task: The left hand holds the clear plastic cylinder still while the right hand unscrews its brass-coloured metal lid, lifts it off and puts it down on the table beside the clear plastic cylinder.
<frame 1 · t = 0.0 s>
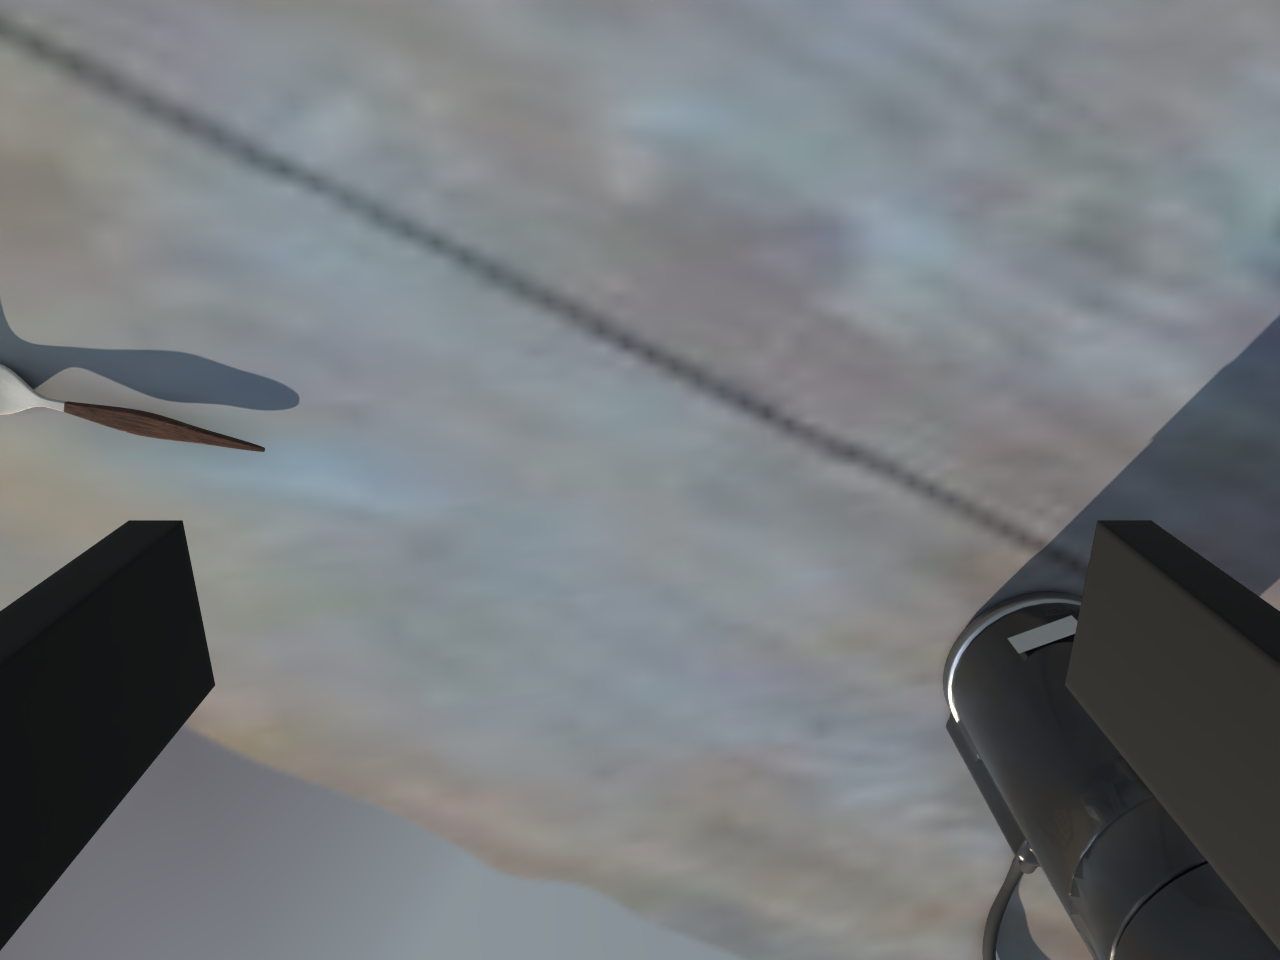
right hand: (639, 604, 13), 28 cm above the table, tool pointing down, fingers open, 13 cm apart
fork: (99, 408, 41), on the table
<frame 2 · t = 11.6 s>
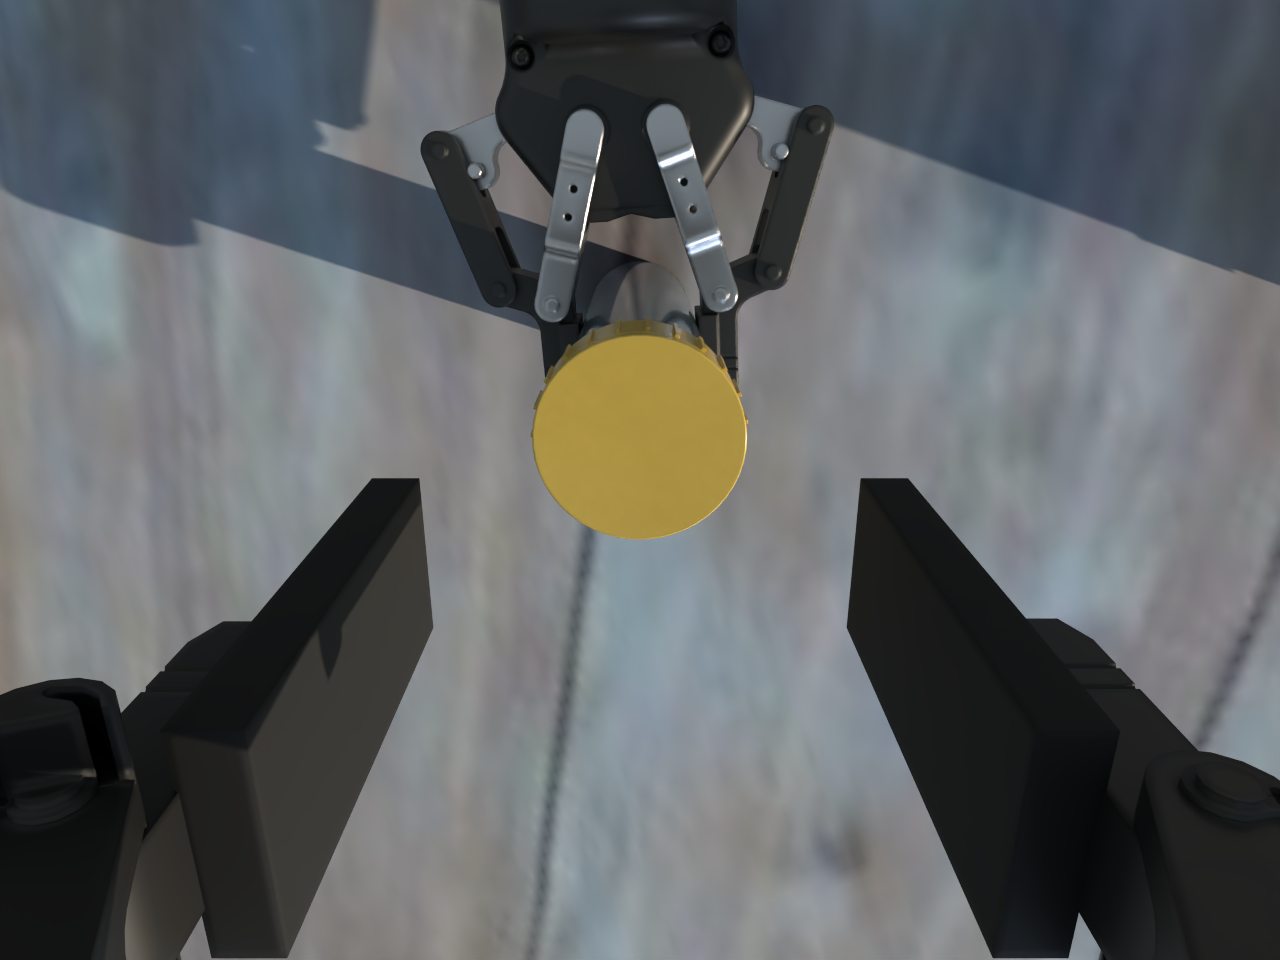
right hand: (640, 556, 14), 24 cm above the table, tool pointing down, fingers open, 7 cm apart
left hand: (643, 411, 32), fingers closed on clear plastic cylinder, 4 cm apart
lid: (639, 437, 20), point 18 cm above the table, screwed on, not yet turned
clear plastic cylinder: (639, 311, 37), on the table, touching left hand
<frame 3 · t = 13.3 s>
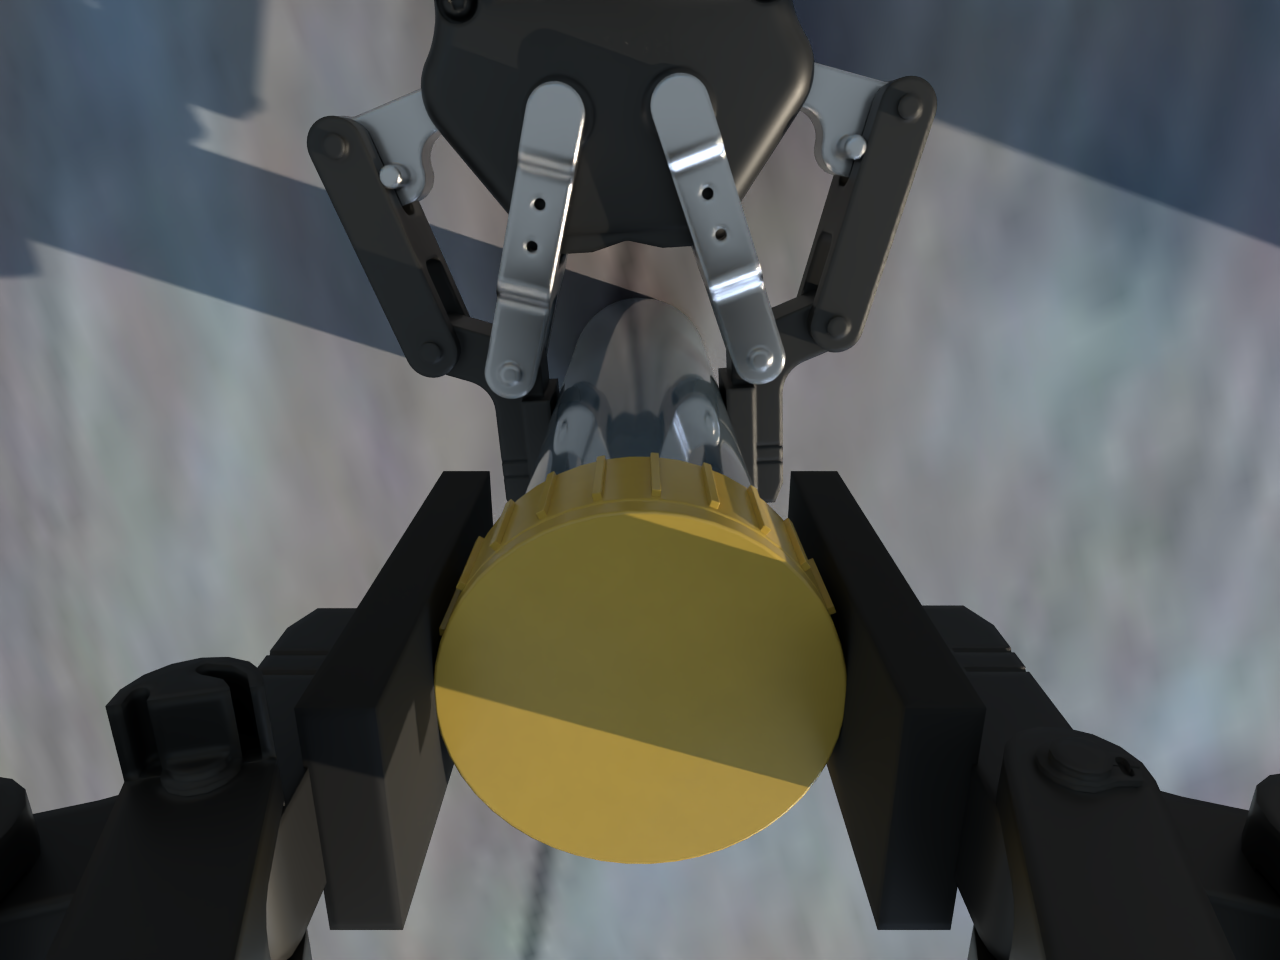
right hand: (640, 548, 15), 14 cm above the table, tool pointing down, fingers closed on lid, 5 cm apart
left hand: (645, 517, 23), fingers closed on clear plastic cylinder, 4 cm apart
lid: (640, 686, 11), point 18 cm above the table, screwed on, not yet turned, touching right hand
clear plastic cylinder: (639, 364, 28), on the table, touching left hand
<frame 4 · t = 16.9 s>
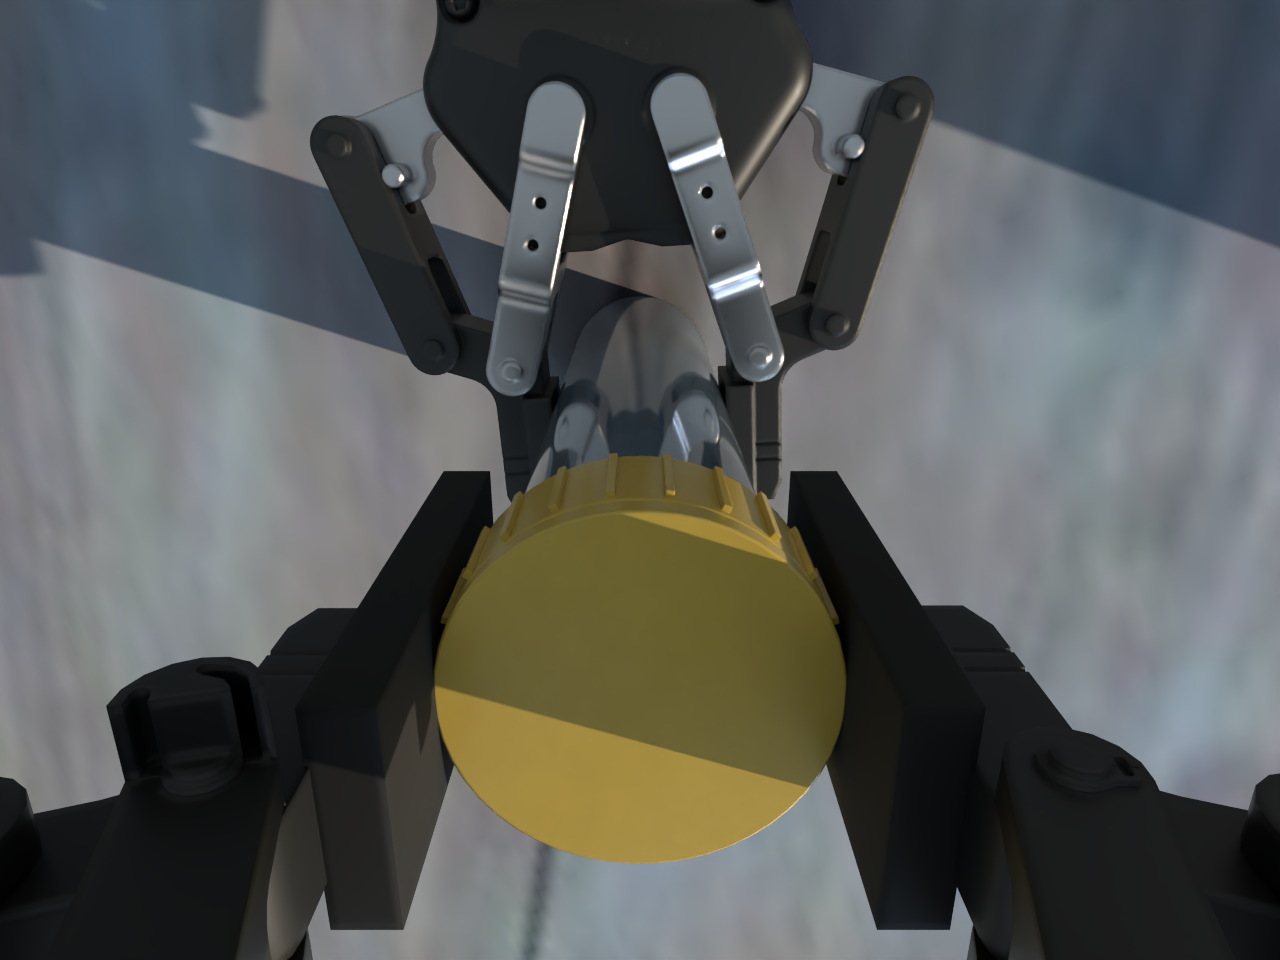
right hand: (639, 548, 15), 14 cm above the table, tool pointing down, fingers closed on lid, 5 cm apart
left hand: (645, 514, 23), fingers closed on clear plastic cylinder, 4 cm apart
lid: (640, 685, 11), point 18 cm above the table, turned 122° so far, risen 0.2 cm, still on its thread, touching right hand
clear plastic cylinder: (640, 362, 28), on the table, touching left hand
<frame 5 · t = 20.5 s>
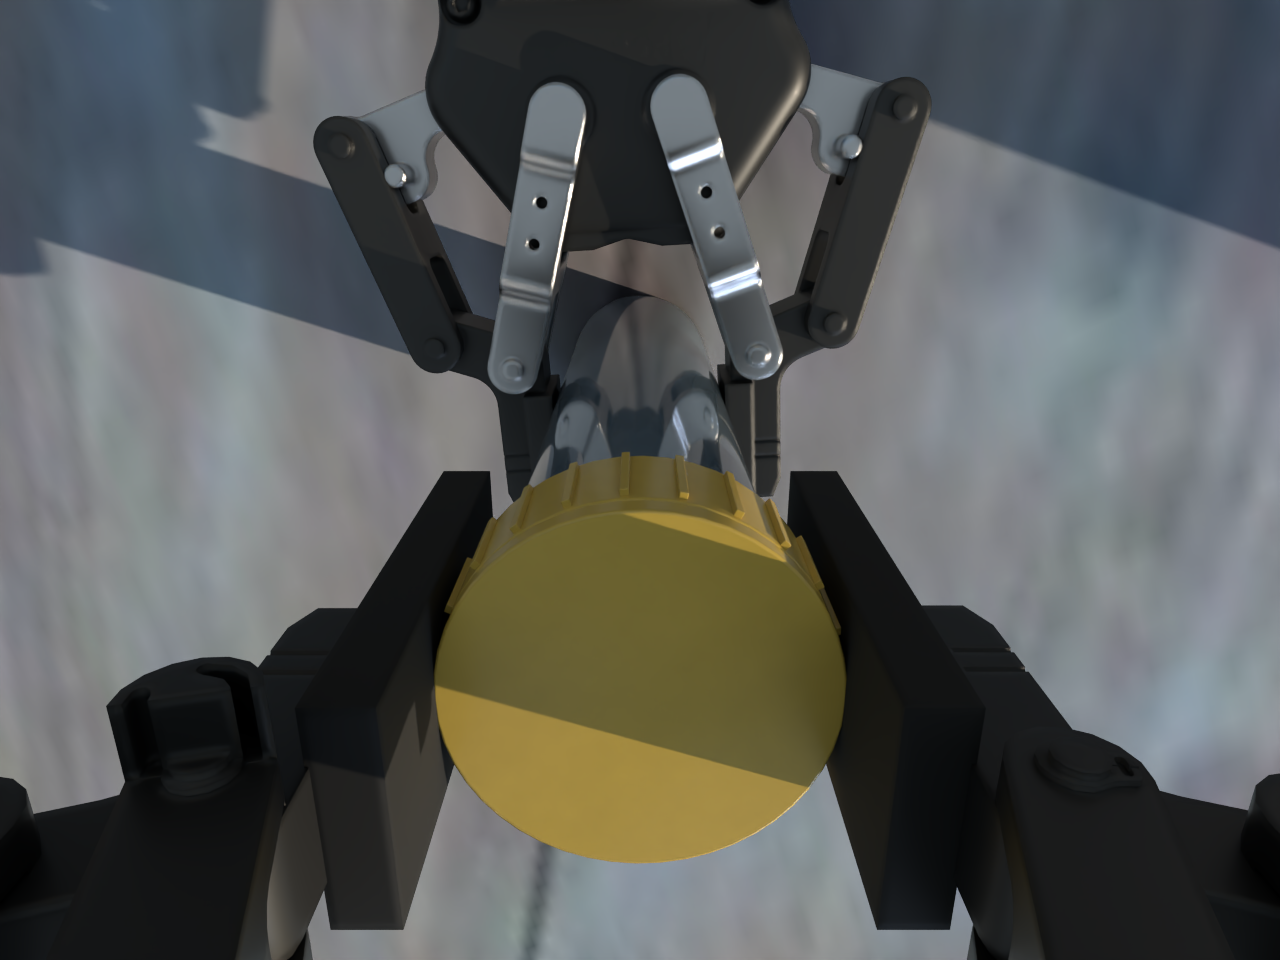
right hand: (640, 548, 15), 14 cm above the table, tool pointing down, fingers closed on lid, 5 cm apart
left hand: (645, 511, 23), fingers closed on clear plastic cylinder, 4 cm apart
lid: (640, 685, 11), point 18 cm above the table, turned 243° so far, risen 0.4 cm, still on its thread, touching right hand
clear plastic cylinder: (640, 361, 28), on the table, touching left hand
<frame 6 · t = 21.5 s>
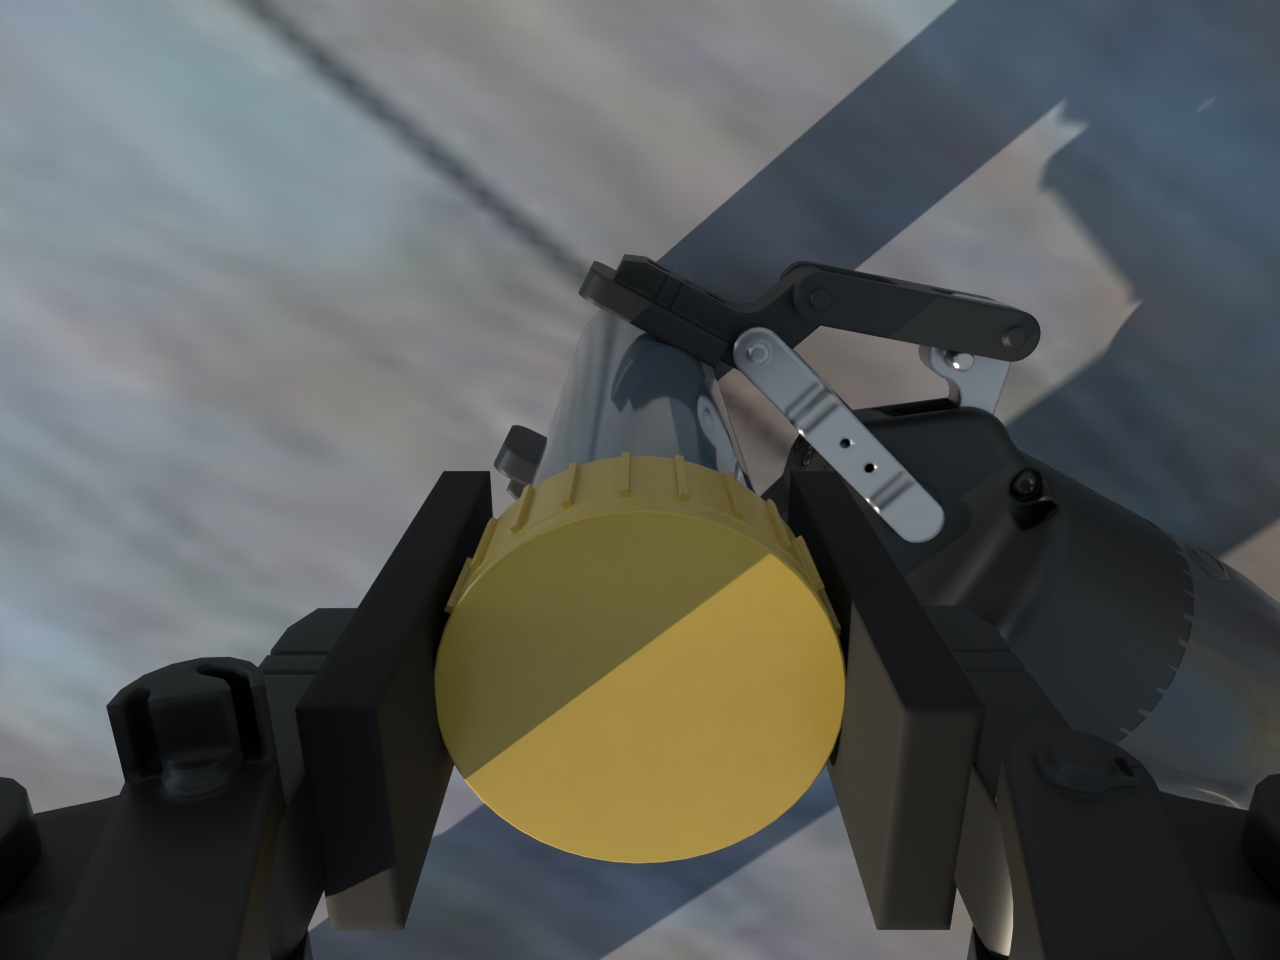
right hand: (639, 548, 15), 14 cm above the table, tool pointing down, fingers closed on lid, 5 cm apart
lid: (640, 685, 11), point 19 cm above the table, off its thread, touching right hand
clear plastic cylinder: (641, 362, 28), on the table, touching left hand
when the right hand's fingers open (0 cm above the table, at t = 28.2 s): lid drops 3 cm, point 2 cm above the table.
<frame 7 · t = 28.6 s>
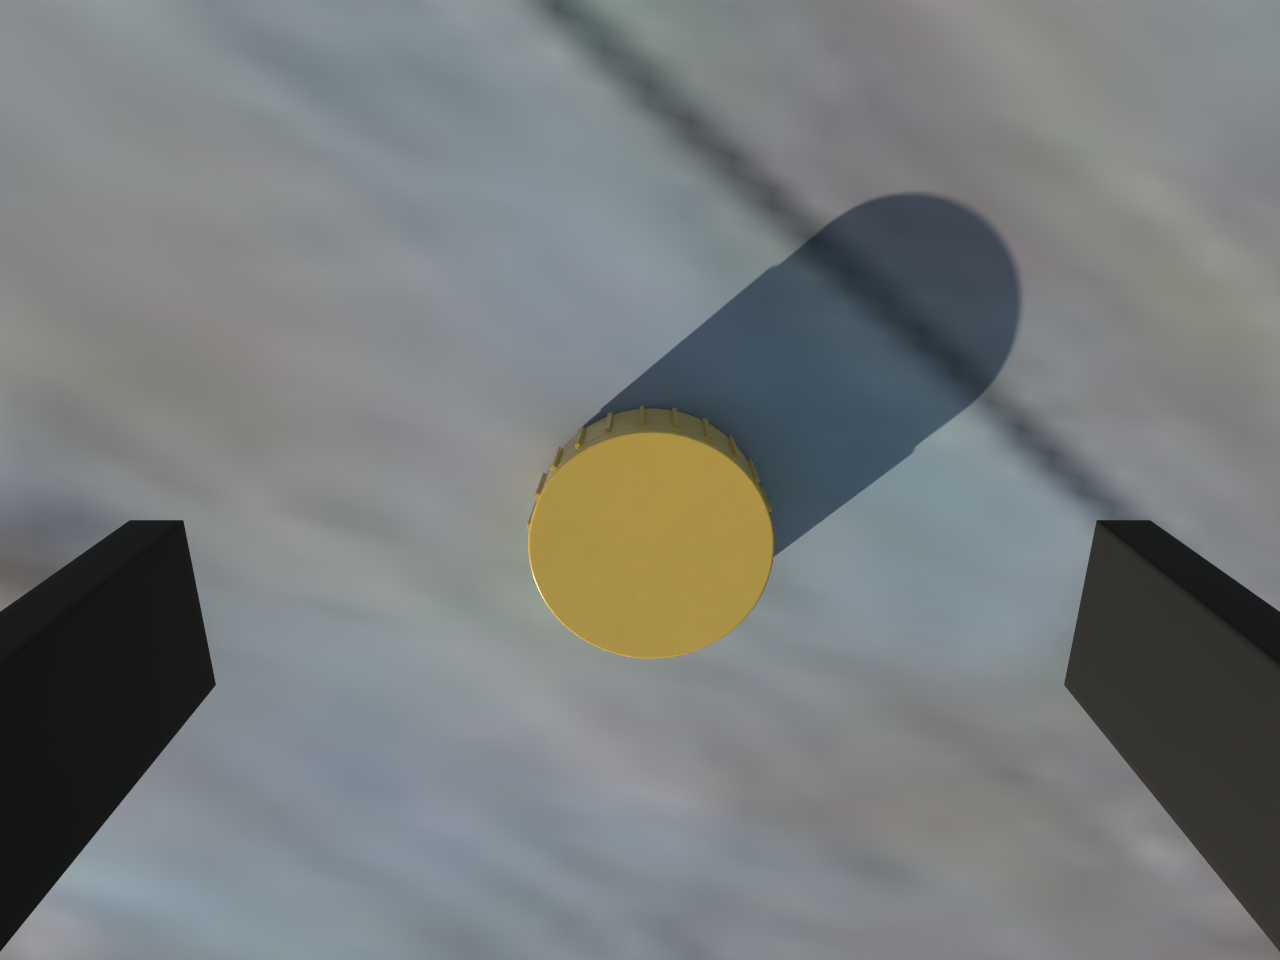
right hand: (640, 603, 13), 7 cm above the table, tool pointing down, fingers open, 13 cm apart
lid: (650, 543, 18), point 2 cm above the table, off its thread
when the left hand's fingers open (6 cm above the table, at t = 28.9 s): clear plastic cylinder stays where it is, on the table.
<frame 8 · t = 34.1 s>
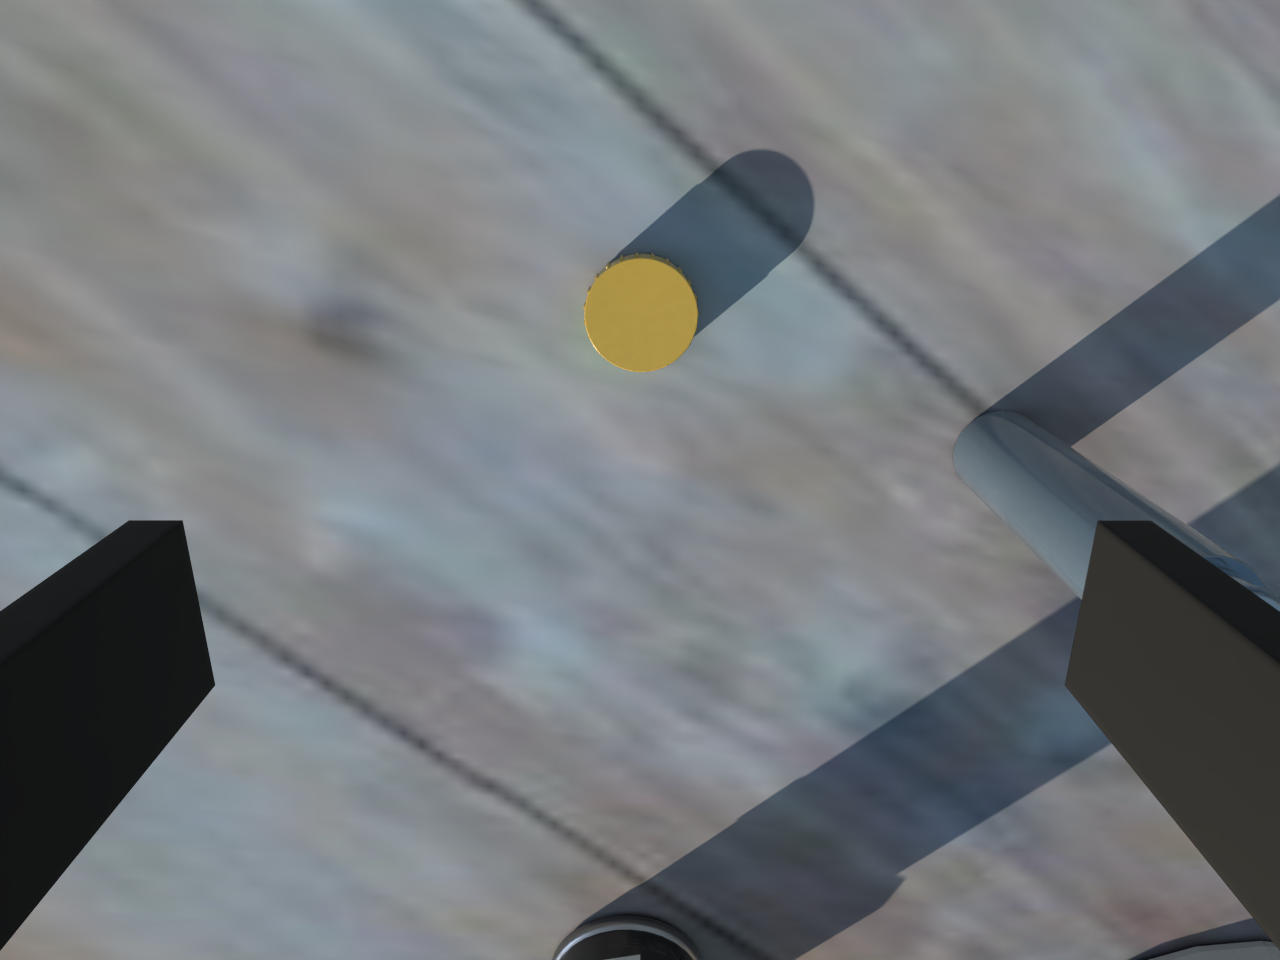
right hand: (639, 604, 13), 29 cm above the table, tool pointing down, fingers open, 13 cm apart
lid: (641, 314, 38), point 2 cm above the table, off its thread
clear plastic cylinder: (996, 452, 42), on the table
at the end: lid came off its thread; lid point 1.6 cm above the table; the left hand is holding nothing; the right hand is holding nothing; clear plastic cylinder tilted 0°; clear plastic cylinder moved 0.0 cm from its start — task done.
